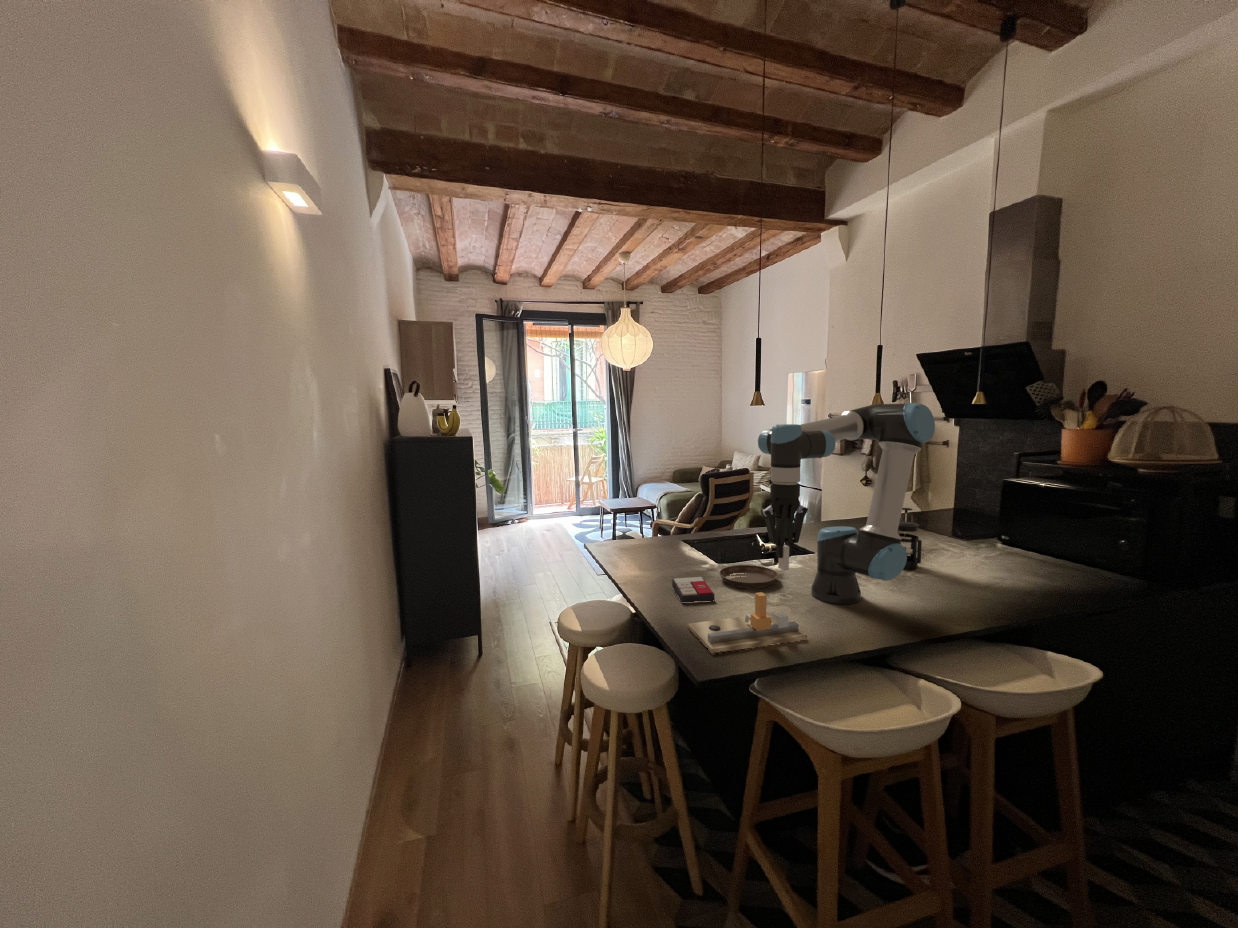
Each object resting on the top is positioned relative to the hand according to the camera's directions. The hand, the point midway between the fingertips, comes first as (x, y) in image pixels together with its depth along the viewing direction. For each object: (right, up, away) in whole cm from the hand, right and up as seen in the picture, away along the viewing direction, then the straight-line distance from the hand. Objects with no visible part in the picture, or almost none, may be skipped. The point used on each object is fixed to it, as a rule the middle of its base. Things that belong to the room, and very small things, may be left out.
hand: (783, 568), depth 136 cm
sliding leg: (-7, -17, +3) cm, 19 cm away
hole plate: (-9, -19, +4) cm, 22 cm away
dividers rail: (-9, -18, +3) cm, 20 cm away
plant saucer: (+3, -15, +47) cm, 50 cm away
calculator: (-19, -17, +35) cm, 44 cm away
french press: (+67, -12, +59) cm, 90 cm away
